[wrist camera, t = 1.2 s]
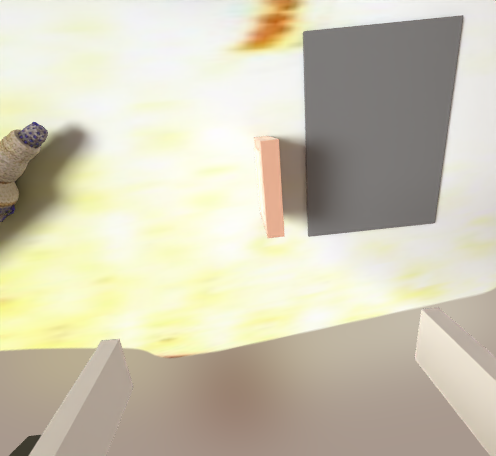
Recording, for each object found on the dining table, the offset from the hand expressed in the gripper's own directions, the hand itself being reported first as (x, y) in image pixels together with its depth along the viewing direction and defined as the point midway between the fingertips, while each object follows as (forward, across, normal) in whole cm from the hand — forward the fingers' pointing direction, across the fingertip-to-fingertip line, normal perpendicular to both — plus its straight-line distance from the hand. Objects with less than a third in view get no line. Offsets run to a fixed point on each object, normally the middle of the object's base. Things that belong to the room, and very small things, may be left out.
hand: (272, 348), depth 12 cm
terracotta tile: (+23, +2, +4) cm, 24 cm away
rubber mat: (+23, +15, +7) cm, 29 cm away
